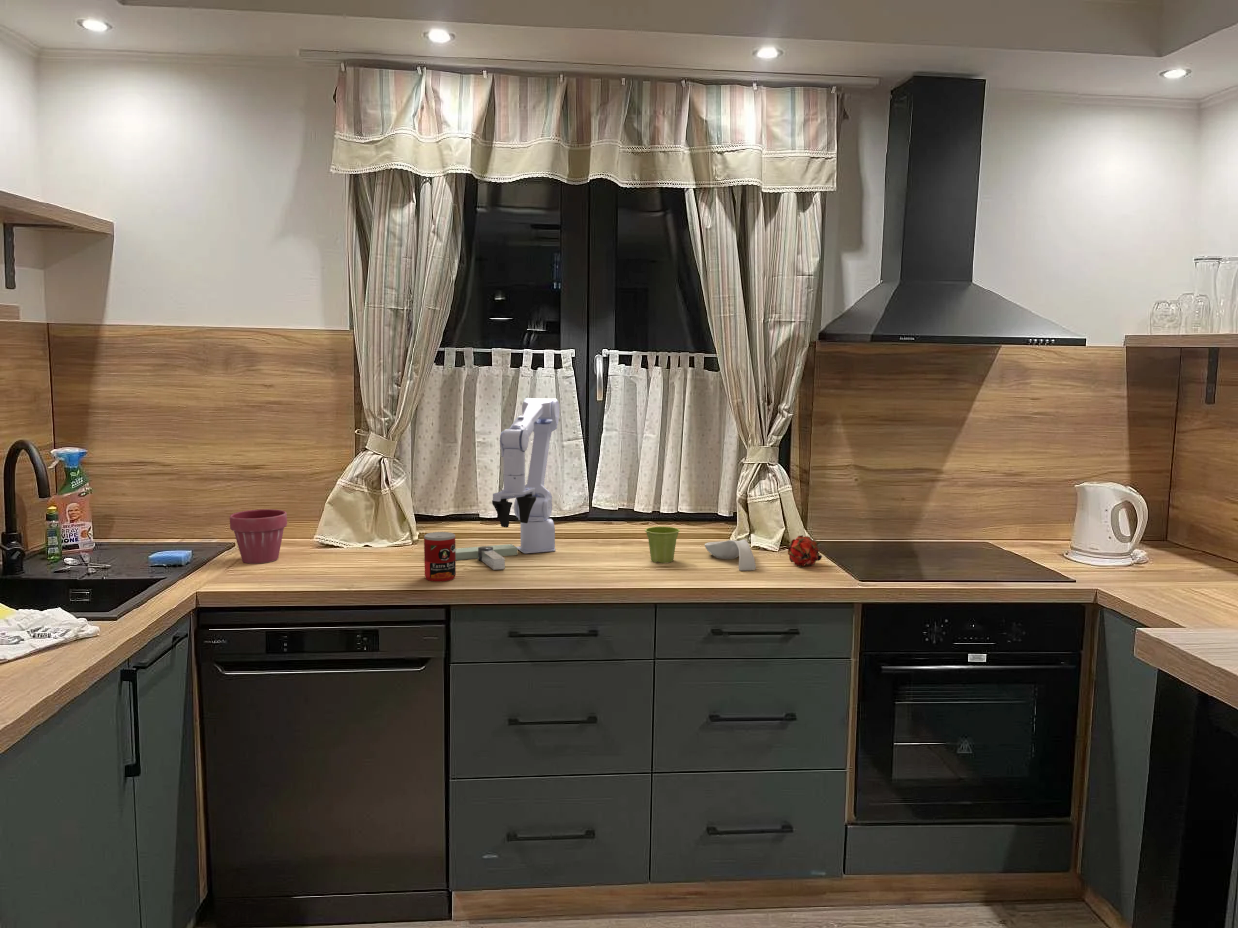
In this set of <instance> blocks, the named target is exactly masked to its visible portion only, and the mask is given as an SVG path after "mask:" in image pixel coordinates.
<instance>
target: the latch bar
mask: <svg viewBox="0 0 1238 928" xmlns="http://www.w3.org/2000/svg"><path fill="white" fill-rule="evenodd" d="M490 546H491V545H485V546H484V545H483V547H482V546H478V547H479V548H478V558H477V560H478V561H481V562H483V563H484V564H485V565H487V566H488V568H490V569H491V570H494V571H496V570H505V568H506V565H505V564H506V562H505V561H506V559H505V556H501V555H499V554H498V553H496V552H495V551H493V547H490Z"/></svg>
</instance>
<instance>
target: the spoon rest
mask: <svg viewBox="0 0 1238 928" xmlns="http://www.w3.org/2000/svg"><path fill="white" fill-rule="evenodd" d="M704 547H705V549H706V550H707V552H708V553H710V554H711V555H712V556H714V557H715V558H716V559H721V560H734V559H737V558H738V557H739V558H738V571H741V572H742V571H755V570H756V569H757V566H756V560H755V557H754V553H753V551H752V548H751V547H750V544H749V542H748V540H747V539H741V540H734V539H729V540H722V541H720V540H719V541H709V542H706V543H704Z"/></svg>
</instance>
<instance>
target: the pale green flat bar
mask: <svg viewBox="0 0 1238 928" xmlns="http://www.w3.org/2000/svg"><path fill="white" fill-rule="evenodd" d="M483 546H484V545H483ZM483 546H481V547H483ZM489 546H490V547H493V551H495V552H496V553H498V554H499V555H501V556H502V557H506V556H507V557H508V556H517V555H518V549H517V547H518V546H515V545H514V544H513V543H509V544H507V543H506V544H498V545H497V544H496V545H495V544H493V545H489ZM479 547H480V546H472V547H470V546H469V547H459V548H455V549H456V561H461V560H472V559H478V548H479Z"/></svg>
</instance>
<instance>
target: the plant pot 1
mask: <svg viewBox="0 0 1238 928" xmlns="http://www.w3.org/2000/svg"><path fill="white" fill-rule="evenodd" d="M287 526H288V515H287V511H285V510H282V509H273V508H272V509H271V508H270V509H269V508H265V509H264V508H263V509H261V508H260V509H250V510H249V509H248V510H242V511H238V512H234V513H232V514H230V516H229V528H230V530H231V531H233V533H234V536H235V540H236V543H237V548H238V550H239V554H240V557H241V561H242V563H245V564H255V565H258V564H267V563H271V562H272V563H273V562H275V561H277V560H278V559H279V556H280V550H281V545H282V540H283V535H284V529H285V528H286V527H287Z"/></svg>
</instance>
